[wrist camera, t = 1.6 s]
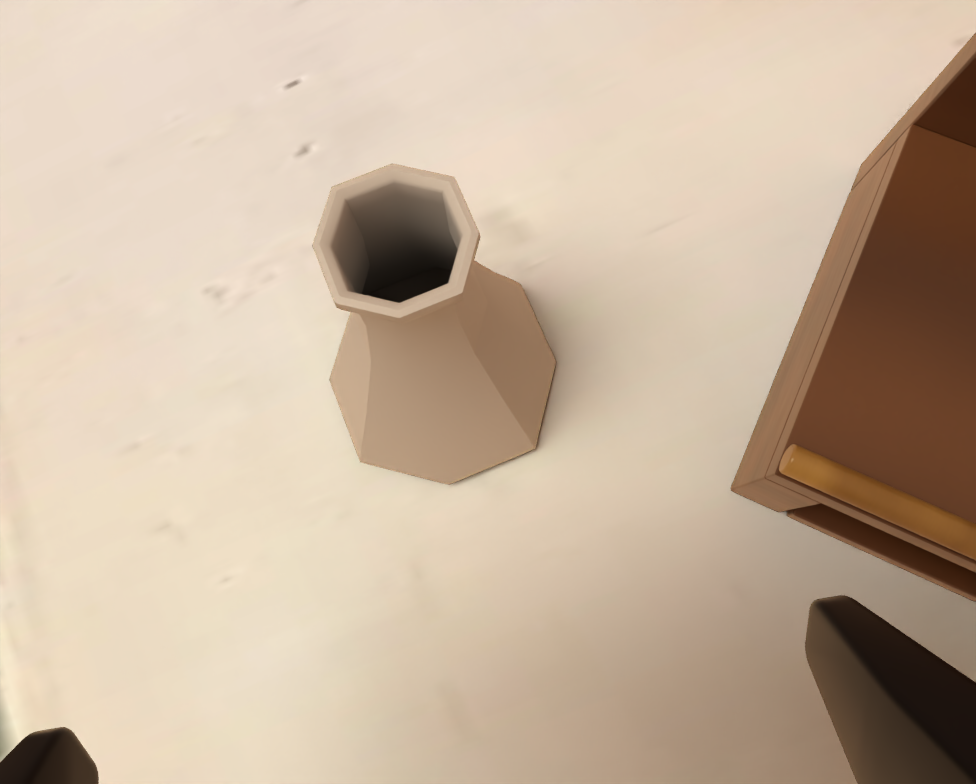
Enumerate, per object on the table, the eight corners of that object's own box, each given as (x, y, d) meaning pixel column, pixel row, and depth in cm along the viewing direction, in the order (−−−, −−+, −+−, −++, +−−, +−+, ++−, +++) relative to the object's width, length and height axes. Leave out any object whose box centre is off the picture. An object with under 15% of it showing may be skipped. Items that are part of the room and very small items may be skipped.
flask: (334, 494, 23) (202, 440, 13) (328, 276, 25) (209, 87, 15) (566, 476, 23) (606, 409, 13) (545, 259, 25) (567, 57, 15)
